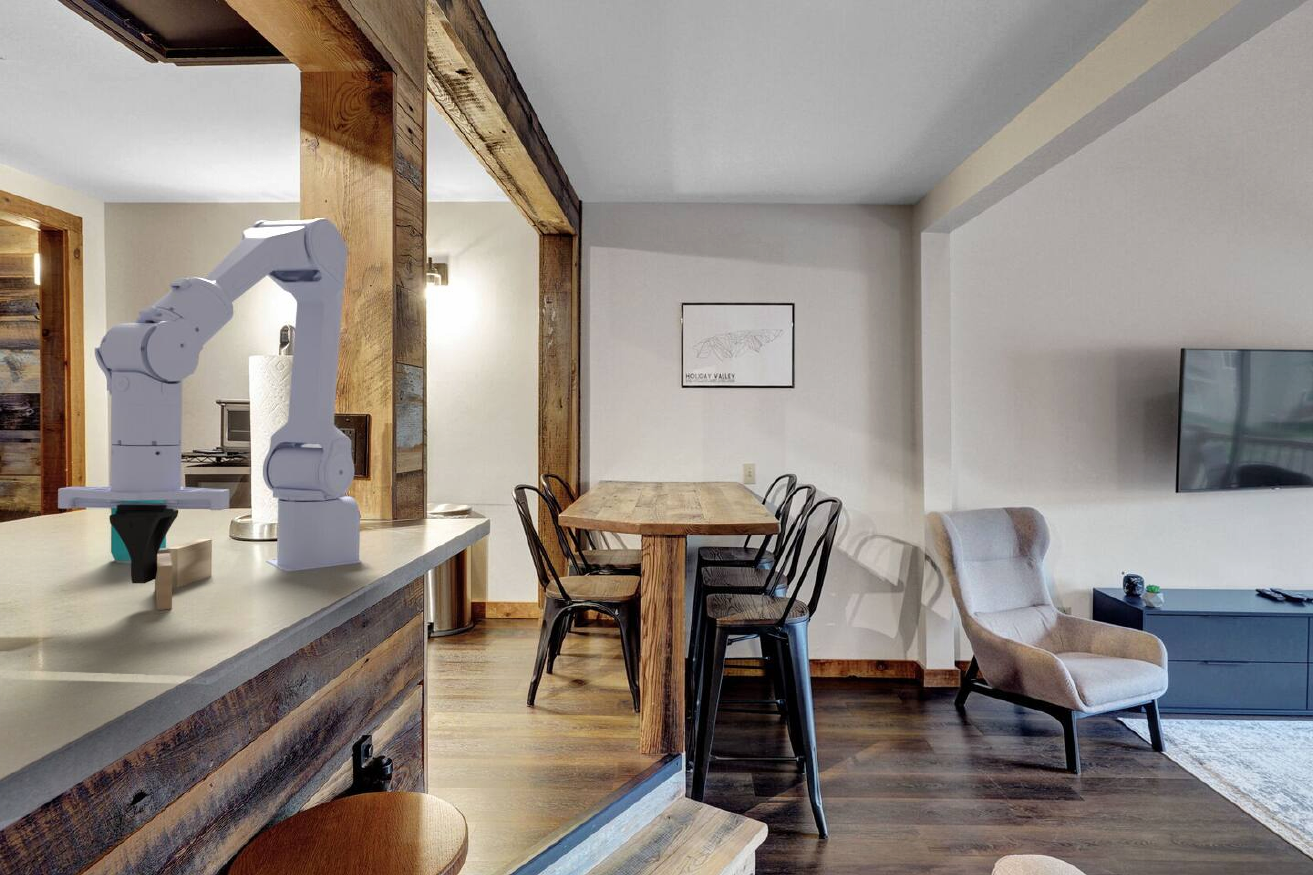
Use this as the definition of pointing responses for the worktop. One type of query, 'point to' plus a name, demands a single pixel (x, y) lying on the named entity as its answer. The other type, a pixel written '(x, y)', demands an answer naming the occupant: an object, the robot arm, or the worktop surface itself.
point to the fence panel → (164, 581)
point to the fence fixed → (190, 562)
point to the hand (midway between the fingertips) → (145, 581)
